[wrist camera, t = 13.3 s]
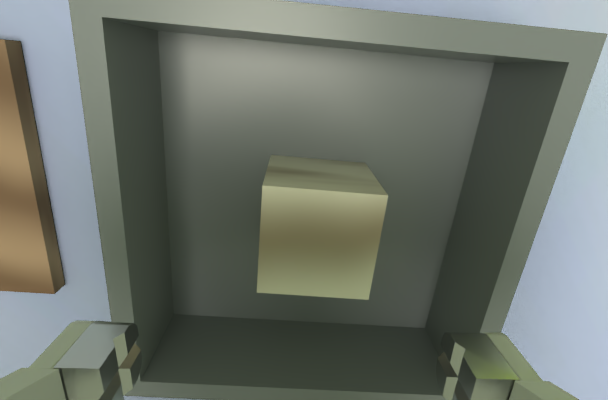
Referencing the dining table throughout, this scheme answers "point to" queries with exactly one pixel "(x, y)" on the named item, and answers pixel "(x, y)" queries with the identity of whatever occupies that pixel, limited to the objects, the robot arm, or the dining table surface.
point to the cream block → (319, 228)
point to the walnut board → (23, 188)
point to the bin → (318, 145)
